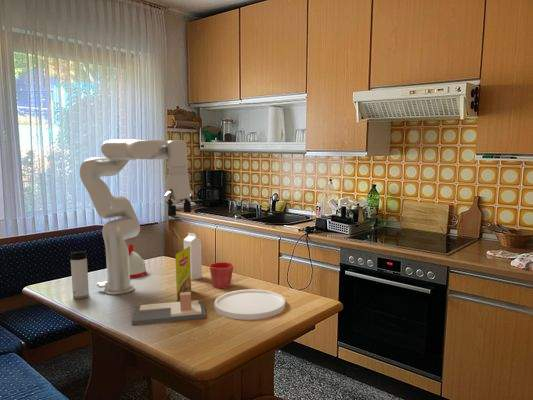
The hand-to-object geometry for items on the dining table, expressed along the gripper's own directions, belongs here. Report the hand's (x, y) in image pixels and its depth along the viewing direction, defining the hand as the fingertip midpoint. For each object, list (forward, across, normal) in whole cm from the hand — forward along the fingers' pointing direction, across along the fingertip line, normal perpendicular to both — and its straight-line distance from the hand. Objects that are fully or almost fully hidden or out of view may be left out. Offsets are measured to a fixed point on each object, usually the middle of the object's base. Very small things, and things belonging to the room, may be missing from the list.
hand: (180, 213), depth 171 cm
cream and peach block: (+35, +13, +11) cm, 38 cm away
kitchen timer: (+36, -20, -48) cm, 63 cm away
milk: (+36, -28, -16) cm, 48 cm away
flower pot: (+36, -23, +4) cm, 43 cm away
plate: (+37, -6, +27) cm, 47 cm away
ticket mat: (+36, +14, +4) cm, 39 cm away
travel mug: (+36, +14, -43) cm, 58 cm away
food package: (+36, -4, -3) cm, 37 cm away
